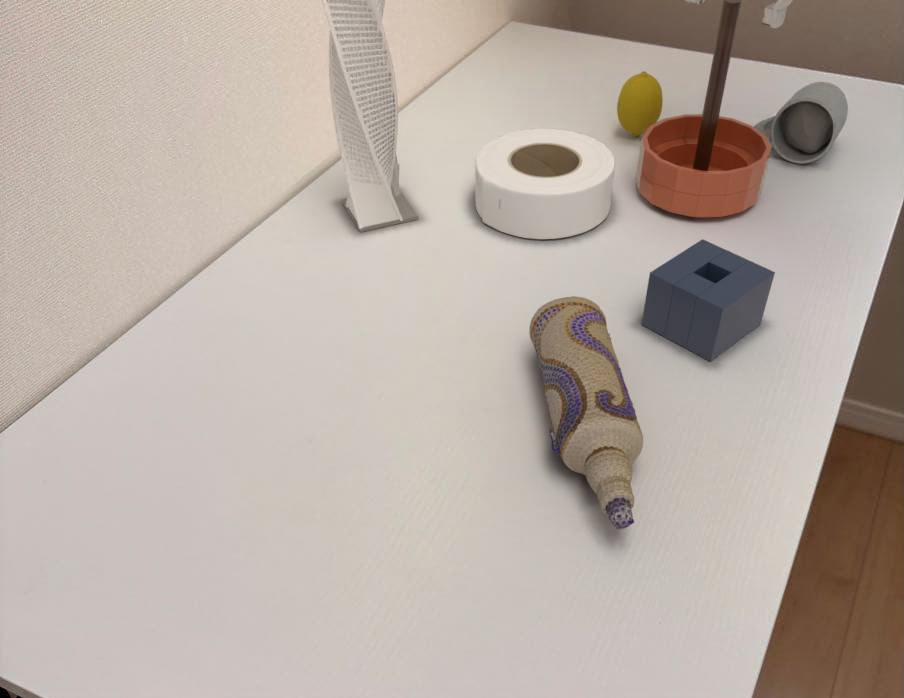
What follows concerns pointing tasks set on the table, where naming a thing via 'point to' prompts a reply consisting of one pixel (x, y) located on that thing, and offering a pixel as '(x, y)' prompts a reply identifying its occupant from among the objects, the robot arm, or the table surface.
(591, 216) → the tape roll
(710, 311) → the stand
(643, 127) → the lemon
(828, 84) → the ceramic mug
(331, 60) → the skyscraper
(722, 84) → the stick
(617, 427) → the decorative bottle
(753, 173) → the bowl
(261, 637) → the table surface
